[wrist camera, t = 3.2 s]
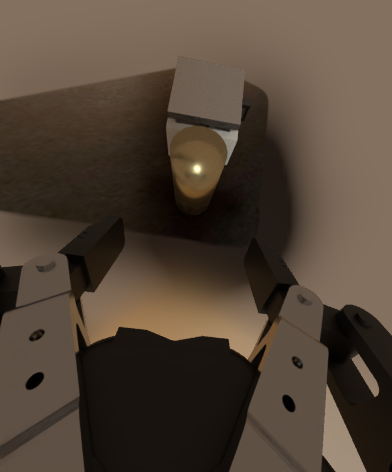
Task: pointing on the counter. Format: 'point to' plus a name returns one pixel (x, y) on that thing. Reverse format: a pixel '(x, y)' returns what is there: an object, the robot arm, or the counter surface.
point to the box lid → (208, 94)
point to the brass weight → (196, 167)
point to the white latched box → (226, 134)
